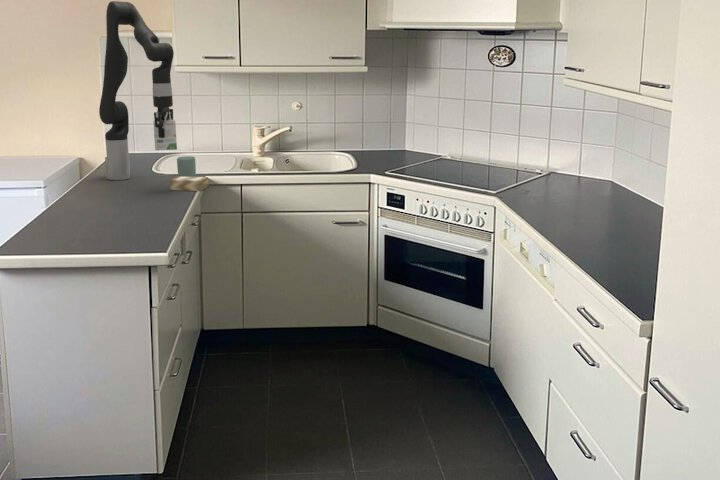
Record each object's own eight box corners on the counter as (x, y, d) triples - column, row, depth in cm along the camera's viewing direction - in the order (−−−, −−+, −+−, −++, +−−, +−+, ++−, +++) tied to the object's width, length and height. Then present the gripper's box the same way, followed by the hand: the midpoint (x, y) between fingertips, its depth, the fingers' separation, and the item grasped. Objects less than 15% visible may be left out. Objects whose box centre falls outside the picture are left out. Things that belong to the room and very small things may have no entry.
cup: (194, 182, 365) (193, 159, 363) (176, 182, 365) (174, 159, 363) (198, 178, 373) (196, 156, 370) (180, 178, 373) (179, 156, 370)
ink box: (176, 148, 349) (174, 119, 346) (177, 149, 344) (175, 120, 341) (154, 148, 347) (152, 119, 344) (155, 150, 342) (153, 121, 339)
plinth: (170, 189, 349) (170, 180, 348) (178, 185, 358) (178, 176, 357) (201, 190, 347) (200, 180, 346) (208, 186, 356) (208, 176, 355)
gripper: (160, 92, 347) (163, 134, 352) (146, 96, 334) (149, 138, 338) (178, 93, 346) (180, 134, 350) (164, 96, 332) (167, 139, 337)
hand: (165, 136), depth 344 cm, fingers closed on ink box, 6 cm apart
